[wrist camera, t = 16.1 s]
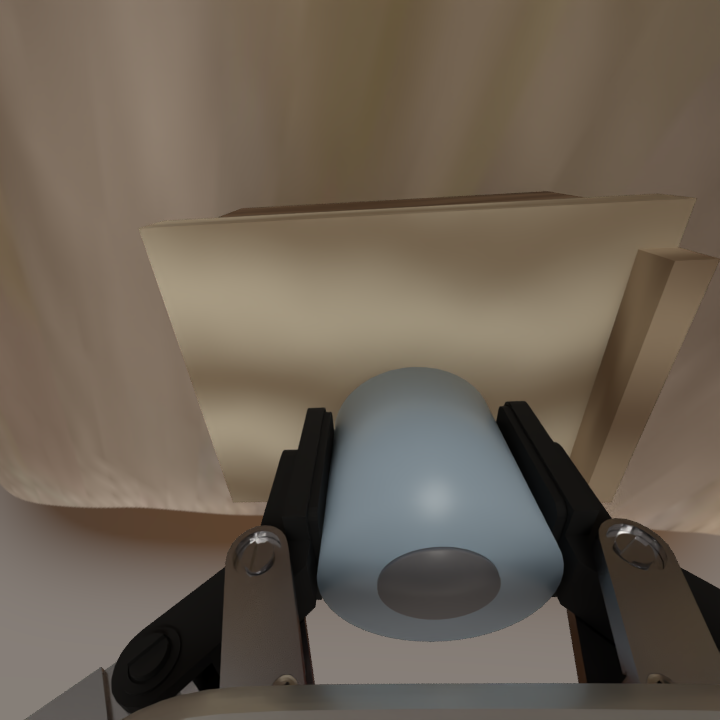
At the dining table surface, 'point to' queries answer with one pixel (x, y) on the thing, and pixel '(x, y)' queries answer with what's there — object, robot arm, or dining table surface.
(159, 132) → the dining table surface
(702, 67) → the dining table surface
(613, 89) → the dining table surface
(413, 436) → the blue cylinder with recess
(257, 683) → the robot arm
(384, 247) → the lid
